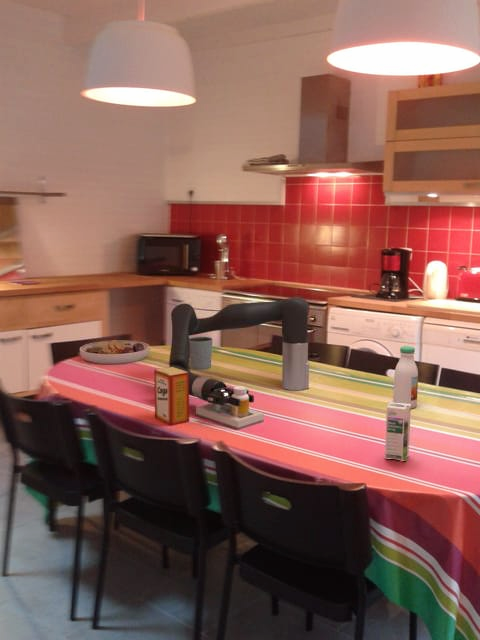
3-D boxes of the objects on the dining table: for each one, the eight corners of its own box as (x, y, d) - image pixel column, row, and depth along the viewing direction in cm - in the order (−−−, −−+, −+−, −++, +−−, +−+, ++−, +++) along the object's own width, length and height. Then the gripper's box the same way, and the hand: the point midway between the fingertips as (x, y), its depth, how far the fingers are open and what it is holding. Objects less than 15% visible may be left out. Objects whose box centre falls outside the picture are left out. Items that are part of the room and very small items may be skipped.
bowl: (66, 362, 287) (65, 344, 285) (105, 348, 314) (104, 332, 313) (126, 368, 276) (126, 350, 274) (161, 354, 303) (161, 337, 302)
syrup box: (384, 459, 177) (386, 406, 175) (387, 452, 183) (389, 400, 180) (406, 462, 175) (408, 409, 173) (409, 455, 181) (411, 403, 178)
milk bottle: (403, 410, 220) (406, 350, 217) (388, 404, 227) (390, 346, 223) (421, 407, 223) (424, 348, 220) (405, 401, 230) (408, 344, 227)
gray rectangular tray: (196, 415, 214) (195, 407, 214) (221, 408, 222) (221, 400, 221) (238, 429, 200) (238, 421, 200) (263, 421, 208) (263, 413, 208)
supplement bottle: (251, 416, 209) (251, 386, 207) (244, 421, 204) (244, 391, 202) (235, 414, 211) (236, 384, 209) (228, 419, 206) (228, 388, 204)
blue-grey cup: (217, 366, 279) (217, 338, 277) (203, 371, 270) (202, 342, 268) (197, 363, 284) (197, 335, 282) (182, 368, 276) (182, 339, 274)
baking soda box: (155, 418, 211) (154, 368, 208) (172, 414, 215) (172, 365, 212) (171, 425, 204) (170, 374, 201) (189, 421, 208) (188, 371, 205)
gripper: (192, 382, 211) (229, 393, 199) (225, 374, 221) (262, 384, 209) (192, 405, 212) (229, 418, 200) (225, 396, 222) (262, 408, 210)
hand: (246, 401), depth 205 cm, fingers closed on supplement bottle, 5 cm apart
